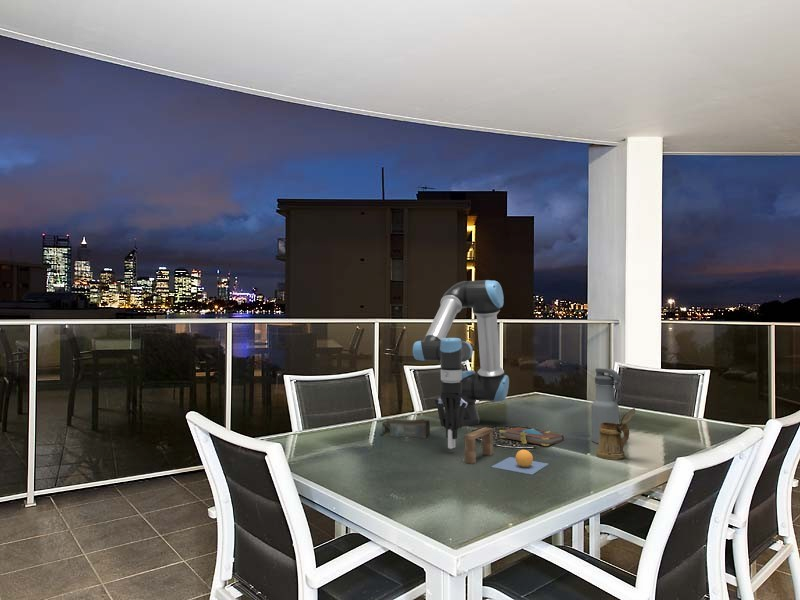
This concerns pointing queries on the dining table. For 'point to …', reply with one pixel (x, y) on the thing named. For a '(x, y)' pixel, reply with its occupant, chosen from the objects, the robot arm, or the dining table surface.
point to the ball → (524, 458)
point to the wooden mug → (614, 438)
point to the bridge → (471, 444)
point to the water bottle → (605, 400)
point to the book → (532, 436)
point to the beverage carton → (406, 428)
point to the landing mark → (512, 465)
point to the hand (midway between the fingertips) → (451, 447)
